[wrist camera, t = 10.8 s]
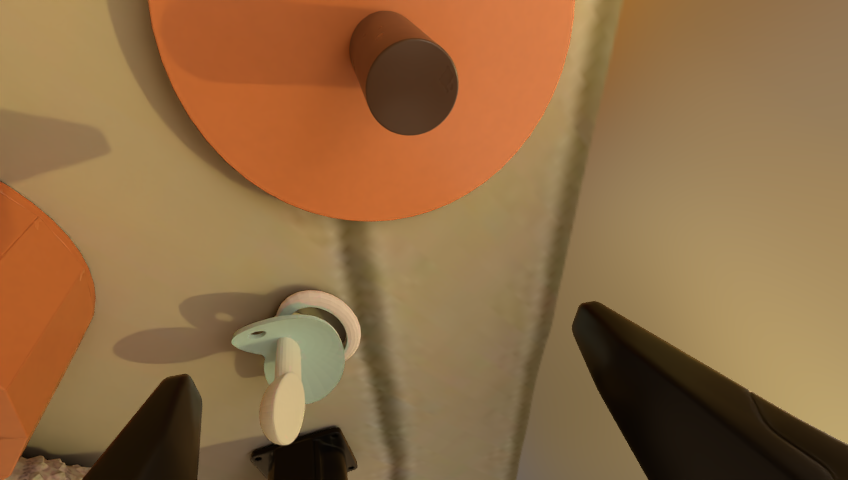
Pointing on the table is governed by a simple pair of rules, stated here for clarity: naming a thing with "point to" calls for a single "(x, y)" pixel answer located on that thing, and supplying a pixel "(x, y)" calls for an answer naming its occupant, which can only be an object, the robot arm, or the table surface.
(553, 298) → the table surface
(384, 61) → the lid
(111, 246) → the table surface
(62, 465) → the sea urchin shell
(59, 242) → the pot
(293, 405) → the pacifier
